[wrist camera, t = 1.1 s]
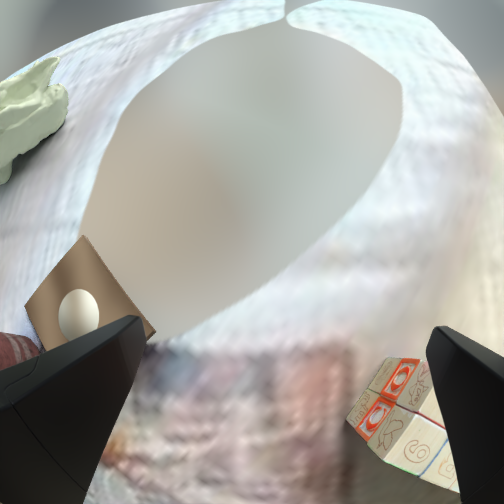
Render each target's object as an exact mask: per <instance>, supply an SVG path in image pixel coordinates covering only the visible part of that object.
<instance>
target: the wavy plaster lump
mask: <svg viewBox="0 0 504 504" xmlns="http://www.w3.org/2000/svg"><path fill="white" fill-rule="evenodd" d="M59 62H60V58H59V57H50V58H47V59H45V60H43V61H42V62H40V63H39V61H36V62H35V64H34V65H33V67H32V68H30V69H29V70H28V71H26V72H24V73H21V74H19V75H17V76H15V77H13V78H11V79H8V80H5V81H2V82H0V185H1V184H4V183H6V182H7V181H8V180H9V178H10V176H11V173H12V162H13V159H14V158H15V157H17V155H18V154H24V153H25V152H26V151H28V150H30V149H32V148H34V147H35V146H36V145H37V144H38V143H39V142H40V141H41V140H42V139H43V138H46V137H48V136H49V135H50V134H52V133H55V132H56V131H57V130H58V129H59V127H60V126H61V125H62V124H63V122H64V120H65V118H66V115H67V113H68V109H67V106H68V92H67V90H66V89H65V87H64V86H63V85H62V84H60V83H58V84H54V85H51V86H48V85H49V83H50V78H51V76H52V74H53V73H54V71H55V69H56V67H57V65H58V64H59Z"/></svg>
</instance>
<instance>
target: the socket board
mask: <svg viewBox="0 0 504 504" xmlns="http://www.w3.org/2000/svg"><path fill="white" fill-rule="evenodd" d="M24 307H25V309H26V311H27V313H28V316H29V318H30V320H31V322H32V324H33V326H34V328H35V330H36V332H37V334H38V336H39V338H40V340H41V342H42V344H43V346H44V347H45V349H46V351H48V350H51V349H53V348H55V347H57V346H60V345H62V344H64V343H66V342H69V341H71V340H73V339H75V338H78V337H80V336H82V335H84V334H87V333H89V332H91V331H93V330H95V329H98V328H100V327H102V326H104V325H107V324H109V323H111V322H113V321H115V320H118V319H120V318H122V317H124V316H127V315H135V316H140V317H141V318H142V321H143V325H144V330H145V334H146V341H147V340H149V339H150V337H152V336H153V334H155V333H156V331H155V329H154V328H153V327H152V326H151V325H150V323H149V322H148V321H147V320H146V319H145V317H144V316H143V315H142V313H141V312H140V311H139V310H138V308H137V307H136V306H135V304H134V303H133V302H132V300H131V299H130V298H129V297H128V295H127V294H126V293H125V291H124V290H123V289H122V287H121V286H120V284H119V283H118V282H117V280H116V279H115V278H114V276H113V275H112V273H111V272H110V271H109V270H108V268H107V266H106V265H105V263H104V262H103V261H102V259H101V258H100V256H99V255H98V253H97V252H96V250H95V249H94V247H93V246H92V244H91V243H90V241H89V240H88V238H87V237H86V236H84V235H82V237H81V238H80V239H79V240H78V241H77V242H76V243H75V244H74V245H73V246H72V248H71V249H70V250H69V251H68V252H67V253H66V254H65V256H64V257H63V258H62V259H61V260H60V261H59V263H58V264H57V265H56V266H55V267H54V269H53V270H52V271H51V272H50V273H49V275H48V276H47V277H46V278H45V280H44V281H43V282H42V283H41V285H40V286H39V287H38V288H37V290H36V291H35V292H34V294H33V295H32V296H31V298H30V299H29V300H28V302H27V303H26V304H25V306H24Z"/></svg>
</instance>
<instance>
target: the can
mask: <svg viewBox="0 0 504 504" xmlns="http://www.w3.org/2000/svg"><path fill="white" fill-rule="evenodd" d="M40 354H41V353H40V351H39V349H38V347H37V346H36V345H35V344H34V343H33V342H32V340H31V339H29V338H28V337H26V336H21V335H15V334H9V333H3V332H0V370H3V369H5V368H8V367H11V366H13V365H16V364H18V363H21V362H23V361H26V360H28V359H30V358H33V357H35V356H37V355H40Z"/></svg>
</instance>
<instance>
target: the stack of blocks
mask: <svg viewBox="0 0 504 504" xmlns="http://www.w3.org/2000/svg"><path fill="white" fill-rule="evenodd" d="M346 420H347V422H348V423H349V424H350V425H351V426H352V427H353V428H355V431H356V432H357V433H358V434H359V435H360V436H361V437H362V438H363V439H364V440H365V441H366V442H367V445H368V447H369V448H370V449H371V450H372V451H373V452H374V453H375V454H376V455H377V456H378V457H379V458H380V459H381V460H382V461H384V462H386V463H388V464H390V465H392V466H394V467H396V468H399V469H401V470H403V471H405V472H408V473H410V474H413V475H416V476H417V477H419V478H420V479H422V480H425V481H427V482H430V483H432V484H435V485H438V486H440V487H443V488H446V489H449V490H451V491H453V492H456V493H459V494H460V492H459V486H458V481H457V476H456V471H455V466H454V461H453V457H452V453H451V448H450V444H449V440H448V437H447V433H446V429H445V425H444V422H443V418H442V415H441V412H440V408H439V405H438V402H437V399H436V395H435V391H434V387H433V383H432V378H431V374H430V369H429V365H428V361H423V360H421V359H412V358H391V357H388V358H387V359H386V361H385V363H384V364H383V366H382V367H381V369H380V370H379V372H378V373H377V375H376V377H375V378H374V379H373V381H372V382H371V384H370V385H369V387H368V389H367V390H366V391H365V392H364V393H363V395H362V396H361V398H360V399H359V400H358V402H357V403H356V405H355V406H354V407H353V409H352V410H351V412H350V413H349V415H348V416H347V418H346Z"/></svg>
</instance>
